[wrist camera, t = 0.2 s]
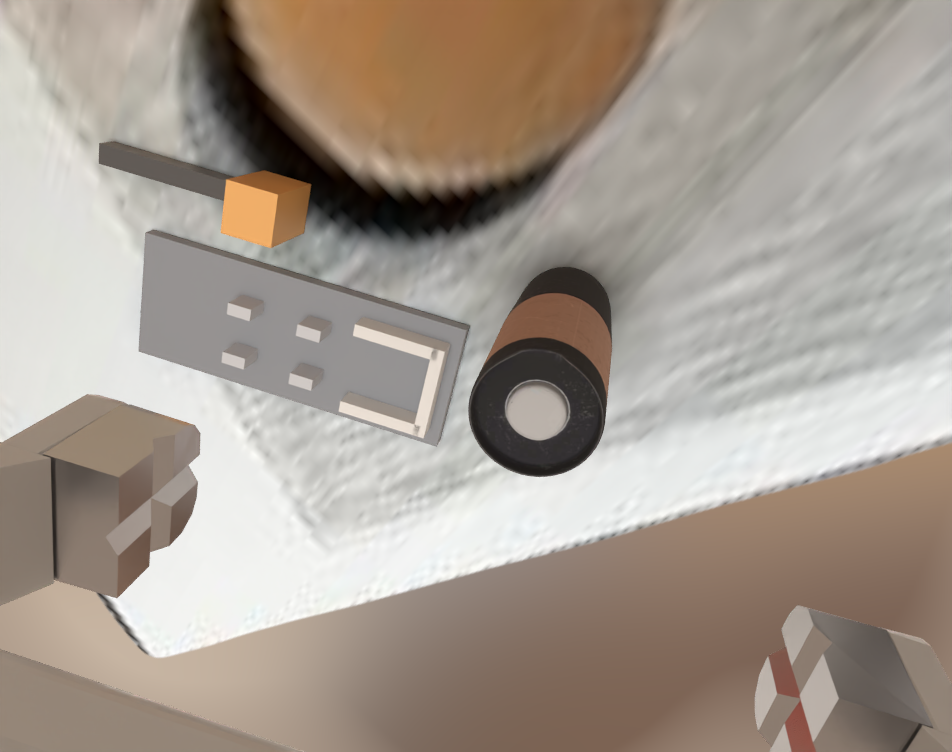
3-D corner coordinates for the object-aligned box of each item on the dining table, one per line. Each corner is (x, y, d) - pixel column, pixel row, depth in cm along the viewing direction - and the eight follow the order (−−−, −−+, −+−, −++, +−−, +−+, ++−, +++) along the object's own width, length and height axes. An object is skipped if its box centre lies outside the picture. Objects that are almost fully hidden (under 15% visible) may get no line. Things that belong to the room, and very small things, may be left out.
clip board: (154, 229, 62) (127, 238, 59) (469, 325, 60) (460, 340, 56) (146, 346, 66) (121, 360, 63) (439, 440, 64) (429, 459, 61)
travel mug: (558, 374, 60) (526, 503, 41) (497, 303, 58) (437, 404, 40) (634, 318, 57) (637, 430, 39) (571, 242, 56) (544, 321, 37)
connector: (311, 184, 58) (278, 194, 52) (303, 233, 59) (270, 248, 54) (114, 126, 59) (62, 130, 54) (112, 175, 61) (61, 184, 55)
